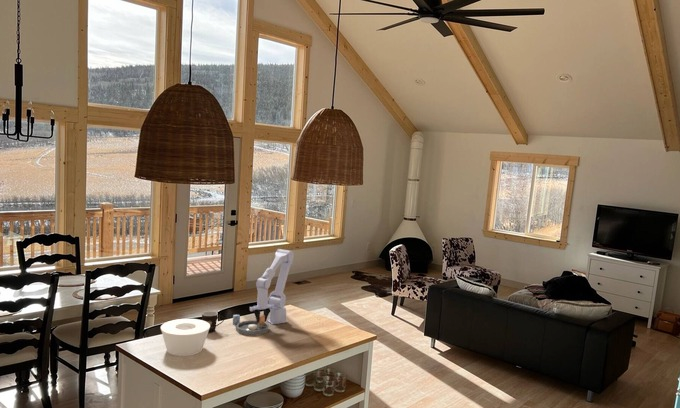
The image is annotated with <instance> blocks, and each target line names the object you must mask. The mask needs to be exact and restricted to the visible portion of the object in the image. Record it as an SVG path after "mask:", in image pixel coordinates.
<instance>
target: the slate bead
mask: <svg viewBox="0 0 680 408" xmlns="http://www.w3.org/2000/svg"><path fill="white" fill-rule="evenodd" d="M240 322H241V315H240V314H233V315H232V325H234V326H237V324H238V323H240Z"/></svg>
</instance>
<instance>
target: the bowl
mask: <svg viewBox="0 0 680 408" xmlns="http://www.w3.org/2000/svg"><path fill="white" fill-rule="evenodd" d="M209 328H210V324H209V323H208V322H206V321H203V320H202V319H198V318H177V319H172V320H169V321H166V322H164V323H162V324H161V325H160V331H161V334H162V338H163V342H164V345H165V348H166V351H168V352H167V353H168V354H170V355H172V356H178V357H188V356H187V355H189V356H193V355H197V354H199V353H200V352H202V350H203V348H204V345H205V342H206V339H207V337H208V334H209V333H208V331H209Z"/></svg>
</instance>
